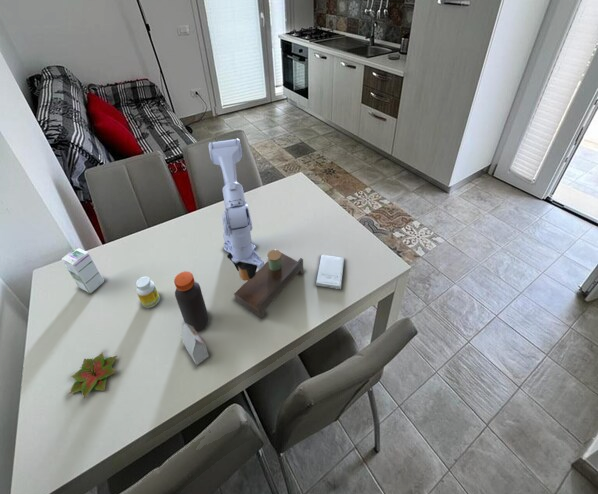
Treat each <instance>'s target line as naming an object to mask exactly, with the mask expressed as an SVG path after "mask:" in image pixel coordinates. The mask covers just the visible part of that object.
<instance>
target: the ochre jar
mask: <svg viewBox="0 0 598 494" xmlns="http://www.w3.org/2000/svg"><path fill="white" fill-rule="evenodd" d="M245 264H247V263H244V262H240V261H239V262H238V263H237V265H238V269H239V271H238V274H239V278H240V279H241V280H242V281H248V280H250V278H249V277H248V273H247V271H246V269H245V268H243V266H244V265H245Z"/></svg>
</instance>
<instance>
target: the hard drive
mask: <svg viewBox="0 0 598 494" xmlns="http://www.w3.org/2000/svg"><path fill="white" fill-rule="evenodd" d="M344 265H345V257H340V256H334V255H327V254H321V256H320V261H319V266H318V270H317V271H318V272H317V277H316V283H315V286H318V287H322V288H329V289H335V290H341V289H342V281H343V273H344Z"/></svg>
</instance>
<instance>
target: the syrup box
mask: <svg viewBox="0 0 598 494" xmlns="http://www.w3.org/2000/svg"><path fill="white" fill-rule="evenodd" d="M61 261H62V263H63V264H64V266H65V268H66V269H67V271H68V272H69V274H70V275H71V277H72V279H73V280H74V281H75V284H76V285H77V286H78V288H79V289H80V290H83V291H84V292H87V293H88V294H92V293H93V292H95V291H96V290H97V289H98V288H99V287H100V286H101V285H103V284H104V283H105V279H104V277H103V275H102V274H101V272H100V270H99V268H98V267H97V265H96V263H95V261H94V259H93V258H92V256H91V254H90V252H88V251H86V250H84V249H81V248H80V247H77V246H76V247H75V248H74V249H72V250H71V251H69V252H68V253H67V254H66V255H64V256H63V257H62V258H61Z"/></svg>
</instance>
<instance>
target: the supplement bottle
mask: <svg viewBox="0 0 598 494" xmlns="http://www.w3.org/2000/svg"><path fill="white" fill-rule="evenodd" d="M135 286H136V288H135V292H136V295H137V297H138V299H139V301H140V303H141V305H142V307H144V308H147V309H148V308H153V307H155V306H156V305H157V304H158V303H159V301H160V294H159V291H158V289H157V287H156V285H155V282H154V281H153V280H151V279H150V277H149V276H142V277H139V278H138V279H137V280H136V282H135Z"/></svg>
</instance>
